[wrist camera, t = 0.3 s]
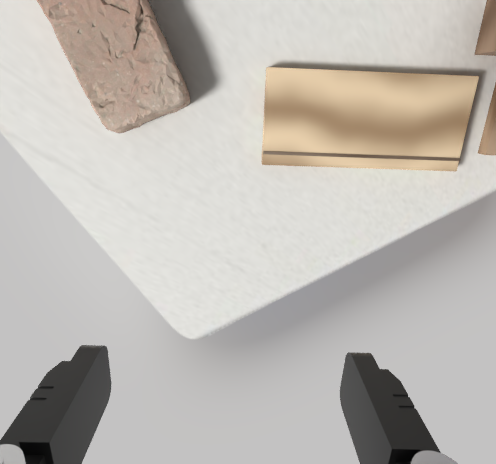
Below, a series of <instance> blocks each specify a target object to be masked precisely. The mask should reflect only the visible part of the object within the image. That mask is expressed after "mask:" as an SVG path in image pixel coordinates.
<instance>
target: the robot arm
mask: <svg viewBox="0 0 496 464" xmlns="http://www.w3.org/2000/svg"><path fill="white" fill-rule="evenodd" d="M110 392H111V377H110V368H109V360H108V350H107V347H106V346H93V345H82V346H80V348H79V349H78V350H77V352H76V353H75V355H74V357H73V358H72V360H71V361H62V362H60V363H59V364H58V365H57V366H55V367H54V368H53V369H52V370H50V371H49V372H48V373H47V374H46V376H45V377H44V379H43V380H42V381H41V383H40V384H39V386H38V389H36V390H35V391H34V393H33V394H32V396H31V397H30V400H29V401H27V403H26V404H25V406H24V407H23V409H22V410H21V411H20V413H19V414H18V416H17V417H16V419H15V420H14V422H13V423H12V424H11V426H10V427H9V429H8V430H7V432H6V433H5V434H4V436H3V437H2V439H1V440H0V464H82V461H83V459H84V457H85V454H86V452H87V449H88V447H89V445H90V443H91V440H92V438H93V436H94V433H95V431H96V429H97V426H98V424H99V422H100V419H101V417H102V415H103V413H104V410H105V408H106V406H107V403H108V400H109V397H110ZM340 400H341V406H342V409H343V413H344V416H345V419H346V422H347V425H348V428H349V431H350V434H351V437H352V440H353V443H354V446H355V449H356V452H357V455H358V458H359V462H360V464H457V463H456V462H455V461H454V460H452V459H451V458H449V457H448V456H446V455H444V454H441V453H440V451H439V449H438V447H437V445H436V444H435V442H434V440H433V438H432V437H431V435H430V433H429V431H428V429H427V428H426V426H425V424H424V422H423V421H422V419H421V417H420V415H419V413H418V412H417V410H416V409H415V408H414V405H413V403H412V401H411V399H410V398H409V397H408V394H407V392H406V390H405V389H404V387H403V385H402V383H401V381H400V380H398V379H397V378H396V377H395V376H394V375H393V374H392V373H391V372H390V371H389V370H386V369H385V370H383V369H379V367H378V365H377V363H376V361H375V359H374V358H373V356H372V354H371V353H347V355H346V358H345V364H344V370H343V375H342V381H341V387H340Z"/></svg>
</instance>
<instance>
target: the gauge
mask: <svg viewBox="0 0 496 464" xmlns="http://www.w3.org/2000/svg"><path fill="white" fill-rule="evenodd" d="M475 55H494V56H496V0H487V2H486V7H485V11H484V15H483V20H482V24H481V29H480V33H479V37H478V42H477V46H476V50H475ZM478 153H479V154H484V155H496V84H495V88H494V91H493V95H492V99H491V103H490V107H489V111H488V115H487V119H486V123H485V127H484V131H483V135H482V139H481V142H480V146H479V150H478Z"/></svg>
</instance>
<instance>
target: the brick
mask: <svg viewBox="0 0 496 464" xmlns="http://www.w3.org/2000/svg"><path fill="white" fill-rule="evenodd" d="M37 2H38V3H39V5H40V6H41V8H42V10H43V12H44V14H45V15H46V17H47V18H48V20H49V21H50V23H51V24H52V26H53V29H54V31H55V34H56V36H57V39H58V41H59V43H60V45H61V47H62V49H63V51H64V53H65V55H66V57H67V59H68V61H69V62H70V64H71V66H72V68H73V70H74V72H75V74H76V77H77V79H78V81H79V83H80V84H81V86H82V88H83V90H84V92H85V94H86V96H87V97H88V99H89V100H90V102H91V105H92V107H93V109H94V111H95V112H96V114H97V115H98V116H99V118H100V120H101V122H102V124H103V125H104V126H105V127H106V129H108V130H111V131H114V132H116V133H124V132H126V131H129V130H131V129H133V128H137V127H140V126H141V125H142V124H144V123H146V122H149V121H151V120H154V119H156V118H158V117H161V116H164V115H166V114H168V113H174V112H177V111H179V110H180V109H182V108H184V107H186V106H187V105H188V104H189V103H190V98H189V92H188V89H187V87H186V83H185V82H184V80H183V78H182V75H181V73H180V71H179V69H178V67H177V66H176V64H175V62H174V59H173V56H172V54H171V52H170V50H169V47H168V45H167V41H166V39H165V37H164V35H163V34H162V32H161V30H160V28H159V25H158V23H157V20H156V17H155V15H154V13H153V11H152V9H151V6H150V4H149V1H148V0H37Z"/></svg>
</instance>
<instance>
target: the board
mask: <svg viewBox="0 0 496 464" xmlns="http://www.w3.org/2000/svg"><path fill="white" fill-rule="evenodd" d="M478 79H479V76H462V75H439V74H415V73H392V72H369V71H346V70H322V69H299V68H276V67H267V68H266V86H265V106H264V126H263V146H262V165H287V166H316V167H345V168H374V169H403V170H433V171H457V167H458V163H459V161H460V154H461V150H462V146H463V142H464V138H465V133H466V129H467V125H468V121H469V117H470V112H471V108H472V104H473V100H474V96H475V91H476V87H477V83H478Z"/></svg>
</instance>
